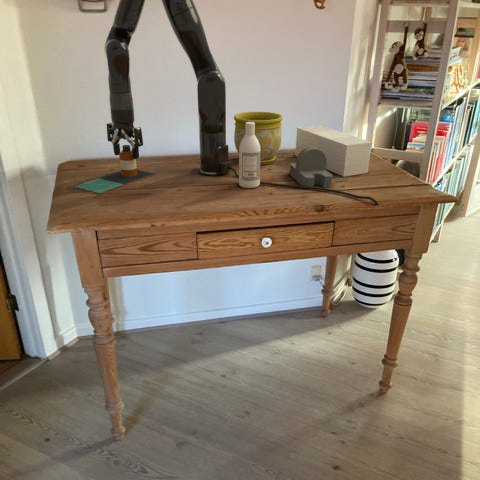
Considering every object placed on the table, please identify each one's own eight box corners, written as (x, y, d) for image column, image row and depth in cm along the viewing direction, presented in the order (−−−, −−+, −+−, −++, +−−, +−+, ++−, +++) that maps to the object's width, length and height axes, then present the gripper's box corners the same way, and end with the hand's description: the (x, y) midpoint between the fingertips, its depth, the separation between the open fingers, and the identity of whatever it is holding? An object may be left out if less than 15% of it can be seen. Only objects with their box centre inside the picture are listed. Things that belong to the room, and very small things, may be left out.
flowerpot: (272, 169, 191) (274, 122, 182) (227, 164, 196) (226, 118, 188) (286, 157, 205) (288, 113, 197) (243, 153, 211) (243, 110, 202)
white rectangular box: (367, 173, 187) (371, 142, 182) (343, 176, 183) (347, 145, 178) (317, 152, 212) (319, 125, 206) (295, 155, 208) (296, 127, 202)
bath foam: (263, 187, 173) (265, 123, 163) (244, 189, 170) (245, 125, 160) (253, 181, 178) (254, 119, 168) (235, 183, 176) (235, 121, 165)
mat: (153, 174, 185) (153, 173, 185) (99, 193, 166) (99, 192, 166) (128, 169, 190) (128, 168, 190) (73, 187, 172) (73, 186, 172)
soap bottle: (140, 174, 184) (137, 145, 179) (129, 178, 180) (126, 148, 175) (129, 171, 186) (125, 143, 181) (118, 175, 183) (114, 146, 177)
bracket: (305, 188, 172) (307, 155, 166) (288, 173, 187) (290, 142, 181) (332, 186, 174) (335, 153, 168) (314, 171, 188) (316, 141, 183)
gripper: (145, 107, 171) (149, 157, 180) (114, 103, 178) (119, 151, 186) (129, 111, 166) (134, 162, 174) (98, 106, 172) (103, 155, 181)
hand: (126, 156), depth 180 cm, fingers open, 8 cm apart
